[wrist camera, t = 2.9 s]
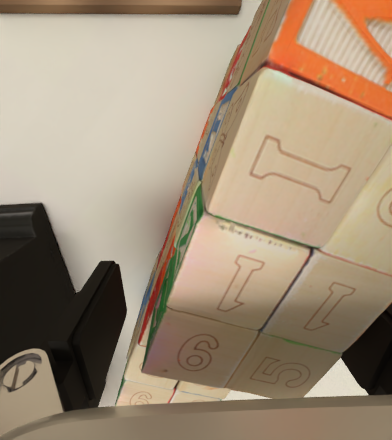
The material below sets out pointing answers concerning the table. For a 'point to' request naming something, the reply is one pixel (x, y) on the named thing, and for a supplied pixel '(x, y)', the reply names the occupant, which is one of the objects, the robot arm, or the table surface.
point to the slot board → (122, 6)
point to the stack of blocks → (277, 214)
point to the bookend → (30, 280)
